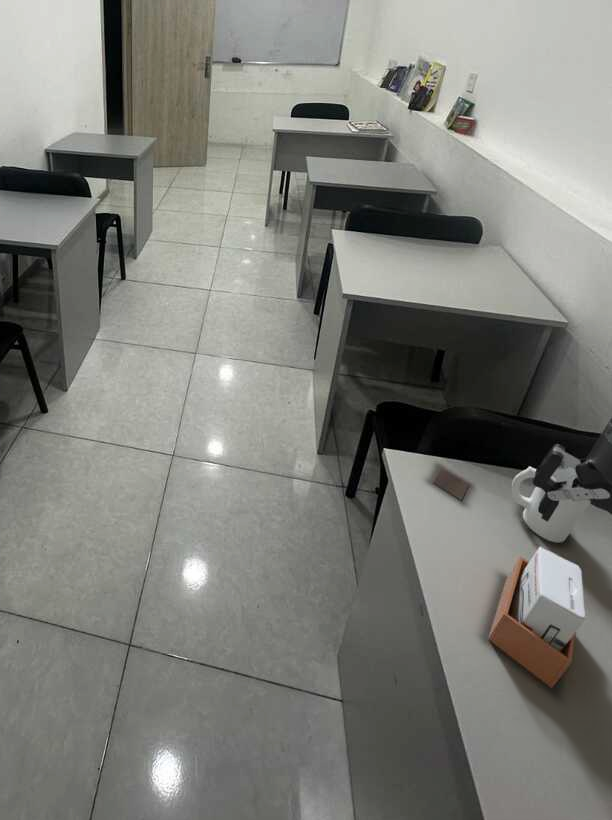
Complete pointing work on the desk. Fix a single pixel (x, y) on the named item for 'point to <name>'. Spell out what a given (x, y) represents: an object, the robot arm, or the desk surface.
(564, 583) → the ink box
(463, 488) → the pad
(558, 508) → the mug
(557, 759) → the desk surface
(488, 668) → the desk surface
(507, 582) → the open box
